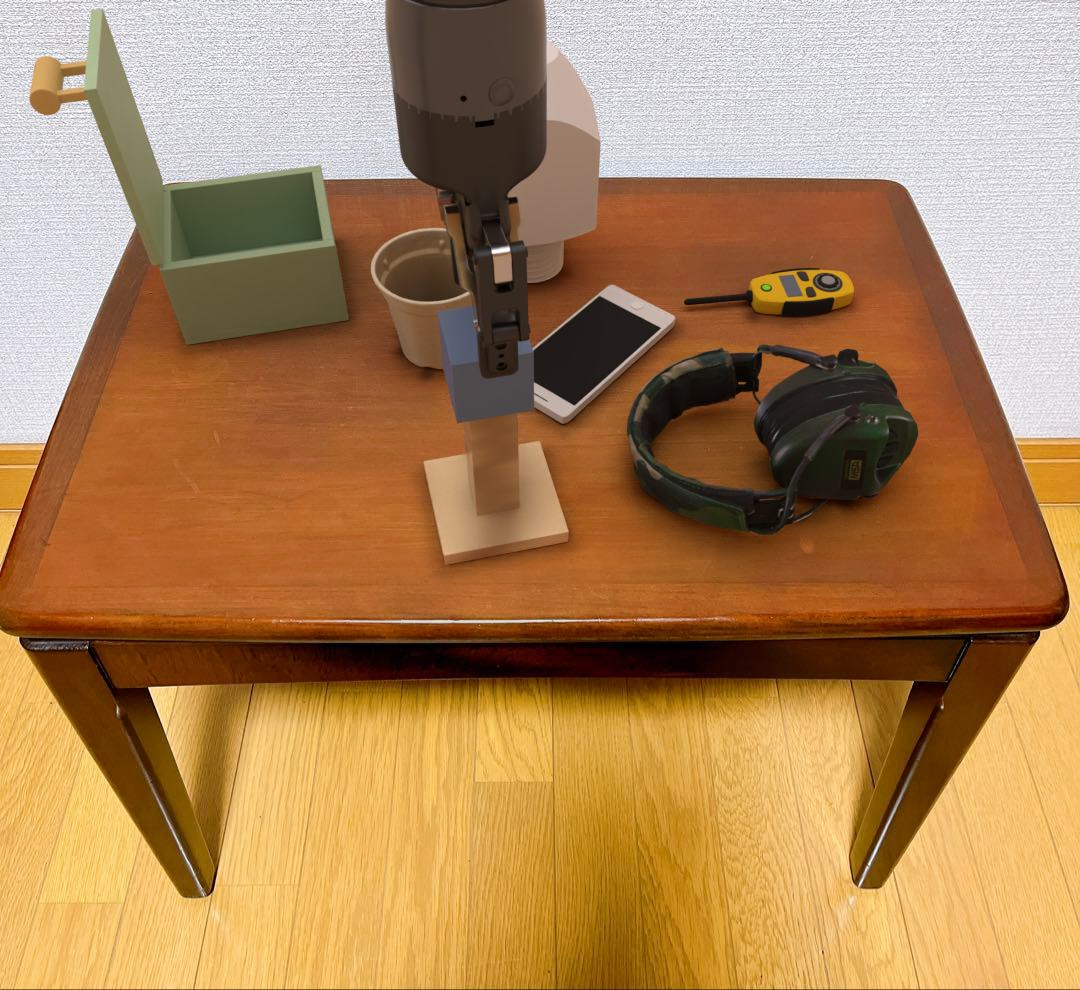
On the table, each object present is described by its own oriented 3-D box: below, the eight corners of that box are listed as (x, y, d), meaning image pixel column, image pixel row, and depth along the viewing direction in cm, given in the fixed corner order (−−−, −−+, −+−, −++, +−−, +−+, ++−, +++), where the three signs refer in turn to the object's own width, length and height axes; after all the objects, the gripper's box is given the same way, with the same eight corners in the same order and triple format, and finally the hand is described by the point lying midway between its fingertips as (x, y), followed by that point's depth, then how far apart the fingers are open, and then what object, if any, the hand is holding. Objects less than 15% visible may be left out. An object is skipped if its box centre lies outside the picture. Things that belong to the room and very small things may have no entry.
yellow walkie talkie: (862, 295, 87) (691, 309, 86) (856, 312, 88) (689, 327, 87) (844, 260, 90) (679, 274, 89) (839, 278, 92) (676, 291, 90)
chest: (335, 239, 95) (320, 164, 89) (349, 320, 88) (334, 245, 82) (184, 260, 93) (159, 185, 87) (186, 345, 86) (159, 270, 80)
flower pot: (516, 333, 87) (514, 251, 80) (454, 401, 82) (446, 318, 75) (426, 296, 90) (417, 214, 83) (361, 359, 85) (346, 276, 78)
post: (445, 565, 71) (430, 452, 62) (424, 471, 77) (408, 354, 68) (568, 541, 73) (572, 427, 63) (539, 450, 78) (539, 333, 69)
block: (457, 423, 64) (451, 365, 60) (443, 369, 67) (437, 311, 63) (534, 410, 64) (533, 352, 60) (517, 357, 67) (515, 299, 64)
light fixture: (593, 288, 91) (603, 75, 75) (491, 304, 89) (480, 90, 74) (567, 226, 96) (572, 17, 81) (471, 240, 95) (457, 30, 79)
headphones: (853, 315, 80) (605, 374, 80) (919, 303, 66) (622, 374, 66) (885, 480, 81) (642, 537, 81) (956, 500, 68) (665, 569, 68)
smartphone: (676, 324, 87) (677, 316, 87) (564, 425, 80) (564, 417, 79) (610, 290, 90) (611, 282, 89) (496, 385, 83) (496, 377, 82)
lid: (102, 8, 75) (26, 17, 75) (96, 88, 68) (11, 99, 67) (163, 180, 87) (97, 189, 86) (163, 264, 79) (91, 275, 79)
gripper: (372, 9, 53) (405, 262, 65) (414, 160, 44) (443, 418, 56) (513, -7, 54) (519, 245, 66) (582, 137, 45) (574, 396, 57)
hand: (484, 324), depth 61 cm, fingers open, 8 cm apart
